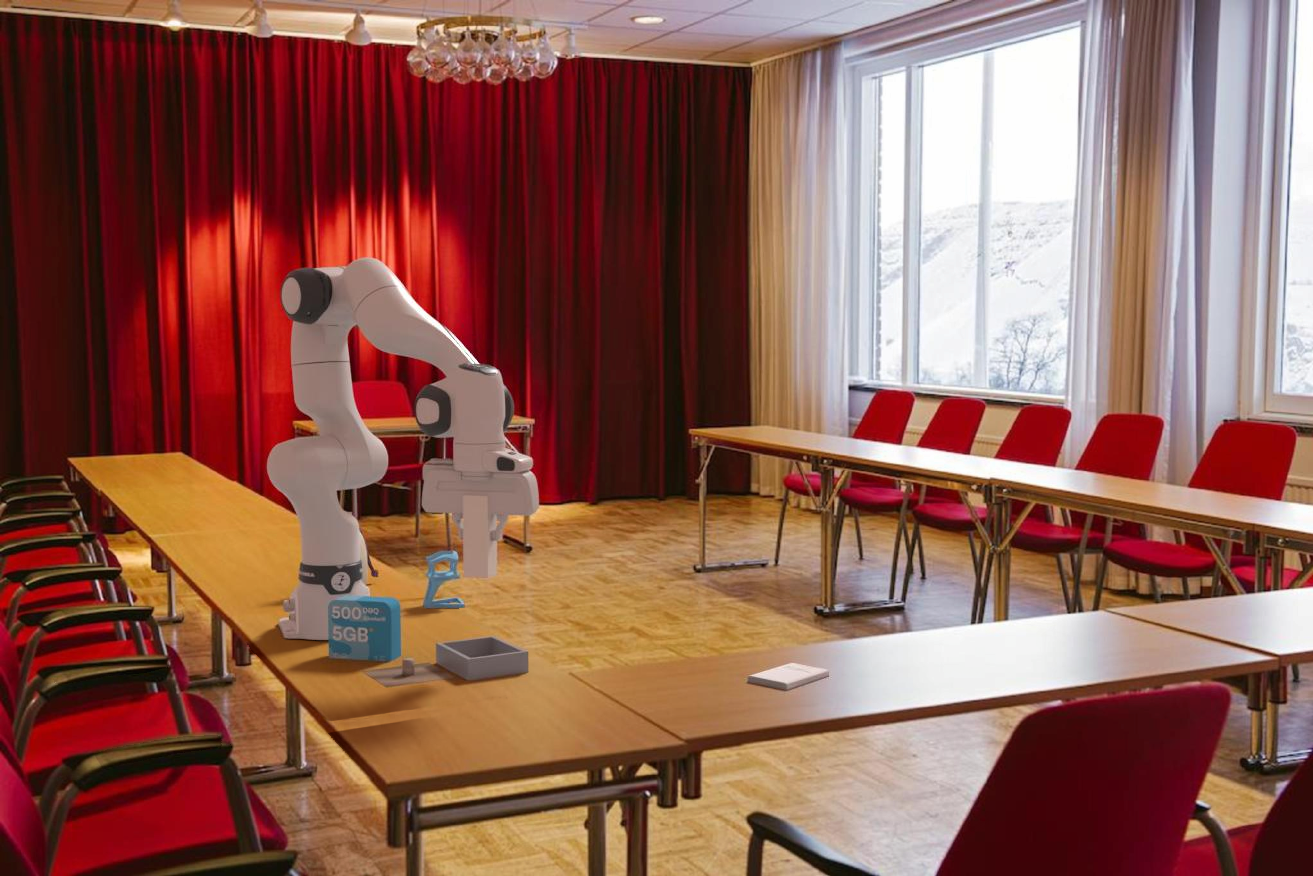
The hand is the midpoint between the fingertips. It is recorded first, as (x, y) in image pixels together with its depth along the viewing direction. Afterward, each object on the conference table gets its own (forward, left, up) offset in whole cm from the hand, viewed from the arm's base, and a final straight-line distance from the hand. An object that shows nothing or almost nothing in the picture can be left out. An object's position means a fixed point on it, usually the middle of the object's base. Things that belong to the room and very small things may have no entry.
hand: (480, 540), depth 231 cm
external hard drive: (+29, +44, -24) cm, 58 cm away
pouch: (-86, +5, -24) cm, 89 cm away
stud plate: (-2, -12, -24) cm, 27 cm away
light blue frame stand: (-60, +18, -24) cm, 67 cm away
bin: (0, 0, -24) cm, 24 cm away
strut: (0, 0, -6) cm, 6 cm away
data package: (-18, -14, -24) cm, 33 cm away
